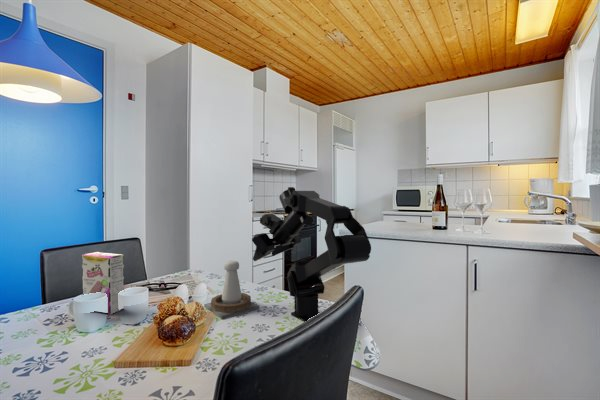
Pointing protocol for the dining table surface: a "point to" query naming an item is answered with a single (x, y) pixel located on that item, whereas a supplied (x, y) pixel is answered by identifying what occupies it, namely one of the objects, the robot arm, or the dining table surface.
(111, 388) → the dining table surface
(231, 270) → the salt shaker
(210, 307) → the stand
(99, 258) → the candy bar box
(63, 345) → the dining table surface
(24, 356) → the dining table surface
